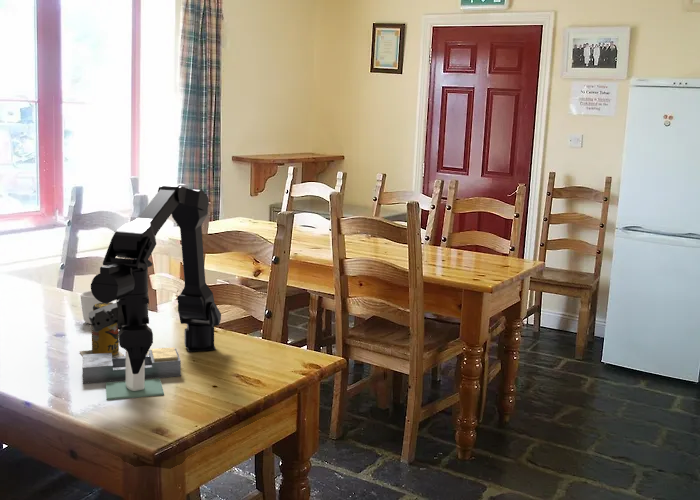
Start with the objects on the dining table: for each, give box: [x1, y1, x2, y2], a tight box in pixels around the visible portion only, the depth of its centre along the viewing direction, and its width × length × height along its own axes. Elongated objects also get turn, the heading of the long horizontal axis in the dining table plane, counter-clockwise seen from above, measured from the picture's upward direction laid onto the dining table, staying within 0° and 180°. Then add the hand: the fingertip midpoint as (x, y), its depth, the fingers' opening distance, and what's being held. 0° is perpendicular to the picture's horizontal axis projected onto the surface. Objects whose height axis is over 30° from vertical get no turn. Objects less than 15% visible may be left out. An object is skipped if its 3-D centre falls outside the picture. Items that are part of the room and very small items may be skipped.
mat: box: [105, 378, 165, 401], centre depth 149 cm, size 11×9×1 cm
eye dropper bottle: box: [125, 350, 146, 391], centre depth 148 cm, size 4×6×12 cm
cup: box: [79, 290, 114, 325], centre depth 196 cm, size 11×8×8 cm
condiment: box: [78, 302, 125, 357], centre depth 170 cm, size 7×8×12 cm
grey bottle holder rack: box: [81, 347, 182, 385], centre depth 159 cm, size 20×9×4 cm, turn 109°
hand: (134, 366), depth 148 cm, fingers open, 9 cm apart
